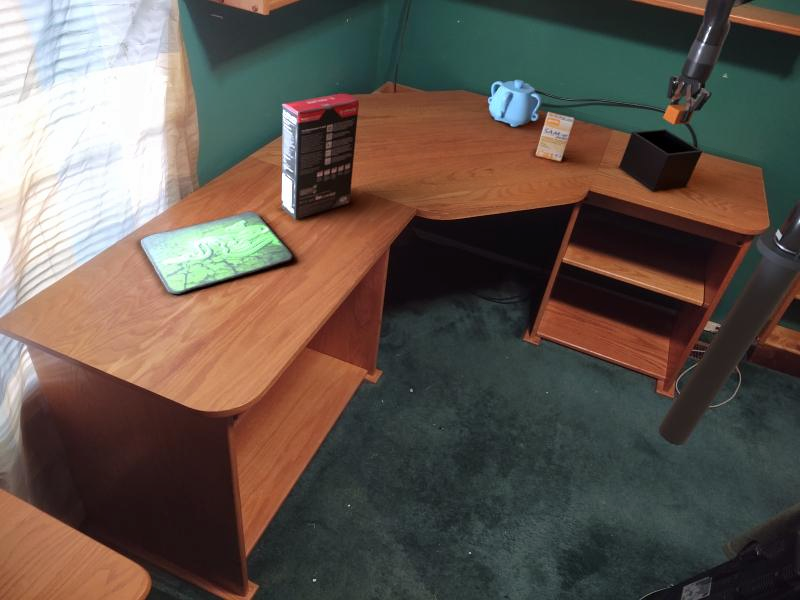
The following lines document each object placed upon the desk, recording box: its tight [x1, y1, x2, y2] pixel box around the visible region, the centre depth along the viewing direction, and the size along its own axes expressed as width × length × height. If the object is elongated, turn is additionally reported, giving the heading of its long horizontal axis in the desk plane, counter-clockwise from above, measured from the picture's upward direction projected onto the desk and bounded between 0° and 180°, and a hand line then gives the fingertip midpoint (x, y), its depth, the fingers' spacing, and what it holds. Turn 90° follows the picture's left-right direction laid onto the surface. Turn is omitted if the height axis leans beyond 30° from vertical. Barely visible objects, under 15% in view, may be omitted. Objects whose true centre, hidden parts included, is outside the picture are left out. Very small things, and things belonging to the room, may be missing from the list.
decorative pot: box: [487, 79, 543, 128], centre depth 204 cm, size 16×16×14 cm
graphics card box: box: [281, 92, 360, 220], centre depth 141 cm, size 17×7×27 cm, turn 131°
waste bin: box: [618, 128, 703, 193], centre depth 181 cm, size 16×14×12 cm
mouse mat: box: [140, 211, 293, 295], centre depth 130 cm, size 27×22×1 cm
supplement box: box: [535, 111, 575, 163], centre depth 184 cm, size 8×5×13 cm, turn 73°
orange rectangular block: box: [662, 103, 695, 125], centre depth 172 cm, size 4×6×4 cm
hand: (676, 118), depth 173 cm, fingers closed on orange rectangular block, 4 cm apart
